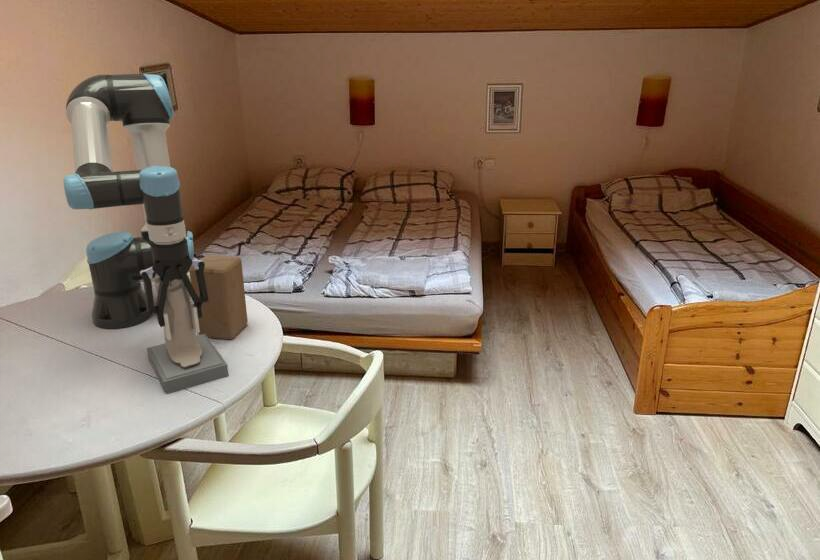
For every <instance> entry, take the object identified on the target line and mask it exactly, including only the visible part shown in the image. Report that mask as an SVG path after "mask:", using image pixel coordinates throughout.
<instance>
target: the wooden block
mask: <svg viewBox="0 0 820 560" xmlns="http://www.w3.org/2000/svg"><path fill="white" fill-rule="evenodd" d="M200 259H201V260H202V261H203V262H204V263H205V266H204V271H203V272H204V278H205V283H206V288H207V293H208V299H209V300H208V301H207V302H204V303H202V306H201V310H202V318H198V322H199V329H200V333H197V335H201V334H206V336H207V337H208V338H213V339H221V340H223V339H224V340H233V339H234V338H235V337H236V336H237V335H239V333H240V332H242V330H243V329H245V327H246V326H247V325H248V321H249V320H248V314H247V313H248V312H247V303H246V293H245V284H244V274H243V264H242V262H243V261H242V258H241V257H240V256H229V255H219V254H206V255H205V256H203V257H202V258H200ZM188 273H189V280H190V282H191V284H192V286H193V288H194V290H195V292H196V294H197V296H198V297H199V296H200V292H199V287H198V282H197V277H196V271H195V269H194V268H193V265H191V267H190V269H189V272H188Z"/></svg>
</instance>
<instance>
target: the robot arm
mask: <svg viewBox="0 0 820 560" xmlns="http://www.w3.org/2000/svg"><path fill="white" fill-rule="evenodd" d="M65 113H66V117H67V119H68V121H69V123H70V124H71V133H72V148H73V149H72V150H73V163H74V173H73V174H69V175H65V176H64V178H63V188H64V194H65V195H64V196H65V197H66V201H67V202H66V203H67V205H68V206H69V208H70V209H72V210H94V209H106V208H112V207H113V208H115V207H122V206H135V205H142V210H143V211H142V212H143V216H144V217H143V218H144V221H145V222H144V225H143V226H142V228H141V229H140V235H141V236H139V237H138V236H137V237H134V235H133V234H132V233H131V232H128V231H117V232H110V233H107V234H104V235H102V236H99V237H96V238H94V239H93V240H91V241H90V242H89V243H88V244H87V245H86V248H85V249H86V250H85V251H86V257H87V259H86V263H87V264H88V267H89V272H90V277H91V280H92V281H91V282H92V286H93V287H92V288H93V291H94V298H93V299H94V300H93V306H92V312H91V317H92V323H93V324H94V325H95V326H97V327H98V328H102V329H121V328H127V327H132V326H135V325H138V324H141V323H143V322H145V321H147V320H148V319H149V318H150V317H152V315H153V314H156V318H157V324H158V325H159V327H160V328H163V326H164V329H163V332H164V331H165V336H166V338H167V339H168V340H171V334H170V327H169V321H168V315H167V312H166V311H165V309H164V306H165V300H166V295H167V289H168V286H169V282H170V281H173V280H175V279H176V280H180V279H182V281H183V283H184V285H185V287H186V289H187V291H188V292H189V294H190V299H191V300H192V302H191V304H190V307H191V314H192V321H193V328H194V330H195V331H196V334H198V333H200V329H199V322H198V318H202V310H201V306H202V303H204V302H207V301H208V300H209V299H208V293H207V288H206V283H205V278H204V272H203V271H204V266H205V263H204V262H203V261H202V260H201V259H202V258H198V259H194V258H195V257H194V255H195V254H194V253H195V252H194V249H195V248H194V247H195V246H194V235H193V232H192V231H189V230H188V231H187V227H186V225H185V216H184V211H183V203H182V195H181V182H180V180H179V176H178V171H177V169H176V168H174V167H171V162H170V161H171V160H170V155H169V149H168V142H167V136H166V135H167V134H166V132H167V131H168V129H169V128H170V127H171V124H170V120H173V119H175V112H174V108H173V102H172V99H171V96H170V92H169V90H168V87H167V84H166V82H165V80H164V78H163V77H162V75H159V74H150V73H149V74H148V73H132V74H131V73H130V74H129V73H127V74H126V73H125V74H124V73H123V74H96V75H92V76H90V77H88V78H85V79H84V80H82V81H81V82H80V83H78V84H77V85H76V86H75V87H74V88H73V90H72V91H71V92H70V94H69V95H68V97H67V100H66V103H65ZM109 122H122V128H123V129H124V130H125V131H126V132H128V134H130V138H131V143H132V150H133V155H134V163H135V167H136V169H134V170H123V171H122V170H120V171H119V170H118V171H113V164H112V162H113V161H112V156H111V155H112V154H111V148H110V140H109V133H108V127H107V126H108V124H109ZM191 265H193V268H194V269H195V271H196V277H197V282H198V287H199V292H200V296H199V297H198V296H197V294H196V292H195V290H194V288H193V286H192V284H191V280H190V277H189V276H188V273H189V269H190V267H191ZM156 274H157V275H159V276H160V284H159V290H158V295H157V297H156V303H154V301H155V300H154V293H153V285H152V280H151V279H154V278H155V276H156ZM142 280H143V281H142ZM141 281H142V282H143V288H142V283H141Z"/></svg>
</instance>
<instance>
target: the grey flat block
mask: <svg viewBox="0 0 820 560" xmlns="http://www.w3.org/2000/svg"><path fill="white" fill-rule="evenodd" d="M196 335H197V339H198V343H199V345H200V347H201V349H202V355H201V356H200V362H198V363H196V364H193V365H189V366H187V367H183V366H181V364H180V363H175V362H174V361H173V360H172V359H171V358H170V355H169V353H168V351H167V348H166V343H161V344H158V345H153V346H149V347H146V353H147V358H148V360H149V363H150V364H151V366H152V368H153V371H154V373H155V374H156V377H157V378H158V380H159V383H160V385H161V388H162V389H163V391H164V393H165V394H170V393H174V392H176V391H180V390H184V389H187V388H190V387H193V386H194V387H195V386H197V385H201V384H205V383H209V382H212V381H215V380H219V379H222V378H225V377H229V367H228V363H227V362H226V361H225V359H224V358H223V356H222V355H221V353H220V352H219V351H218V349H217V348H216V346H215V345H214V344H213V342H212V341H211V340H210V337H207V336H206V334H201V335H199V334H196Z"/></svg>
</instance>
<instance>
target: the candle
mask: <svg viewBox="0 0 820 560" xmlns="http://www.w3.org/2000/svg"><path fill="white" fill-rule="evenodd" d="M153 281H154V286H155V291H156V294H157V296H158V290H159V284H160V276H159V275H157V274H156V276H155V278H153ZM191 300H192V298H191V296H190V294H189V292H188V291H187V289H186V287H185V285H184V283H183V281H182V279H180V280H176V279H175V280H173V281H170V282H169V286H168V289H167V295H166V300H165V306H164V309H165V311H166V312H167V315H168V321H169V327H170V334H171V340H168V339H167V338H166V336H165V331H164V326H163V327H162V329H163V335H164V342H165V343H166V348H167V351H168V353H169V355H170V358H171V359H172V360H173V361H174V362H175V363H180V364H181V366H183V367H187V366H189V365H193V364H196V363H198V362H200V356H201V355H202V349H201V347H200V345H199V343H198V339H197V335H198V334H197V333H196V331H195V330H194V328H193V321H192V314H191V307H190V304H192V301H191ZM165 343H164V344H165Z"/></svg>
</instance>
